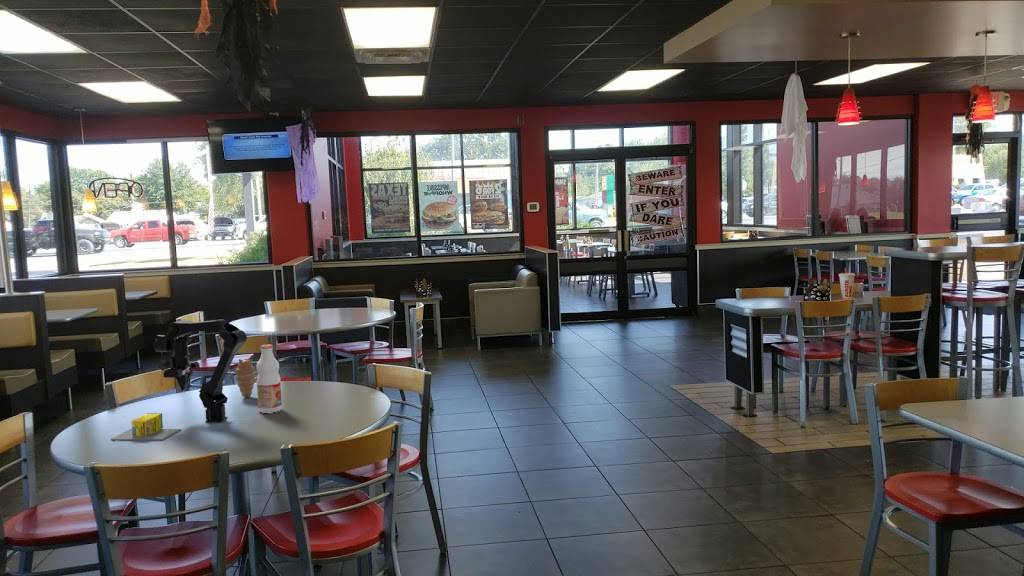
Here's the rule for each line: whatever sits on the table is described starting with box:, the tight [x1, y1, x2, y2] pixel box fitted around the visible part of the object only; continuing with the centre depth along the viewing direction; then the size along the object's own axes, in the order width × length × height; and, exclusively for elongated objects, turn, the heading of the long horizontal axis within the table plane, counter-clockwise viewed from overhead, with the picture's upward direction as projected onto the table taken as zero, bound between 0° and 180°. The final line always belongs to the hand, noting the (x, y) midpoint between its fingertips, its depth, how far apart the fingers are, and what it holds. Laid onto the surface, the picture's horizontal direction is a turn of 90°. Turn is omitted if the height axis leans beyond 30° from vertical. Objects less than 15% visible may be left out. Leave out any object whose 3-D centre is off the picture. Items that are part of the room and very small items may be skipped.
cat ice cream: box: [234, 357, 256, 399], centre depth 342 cm, size 9×8×18 cm
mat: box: [110, 428, 182, 442], centre depth 287 cm, size 20×13×1 cm, turn 86°
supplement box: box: [131, 412, 164, 436], centre depth 289 cm, size 6×6×11 cm
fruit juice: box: [256, 343, 283, 414], centre depth 317 cm, size 9×9×28 cm
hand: (183, 390), depth 307 cm, fingers closed
